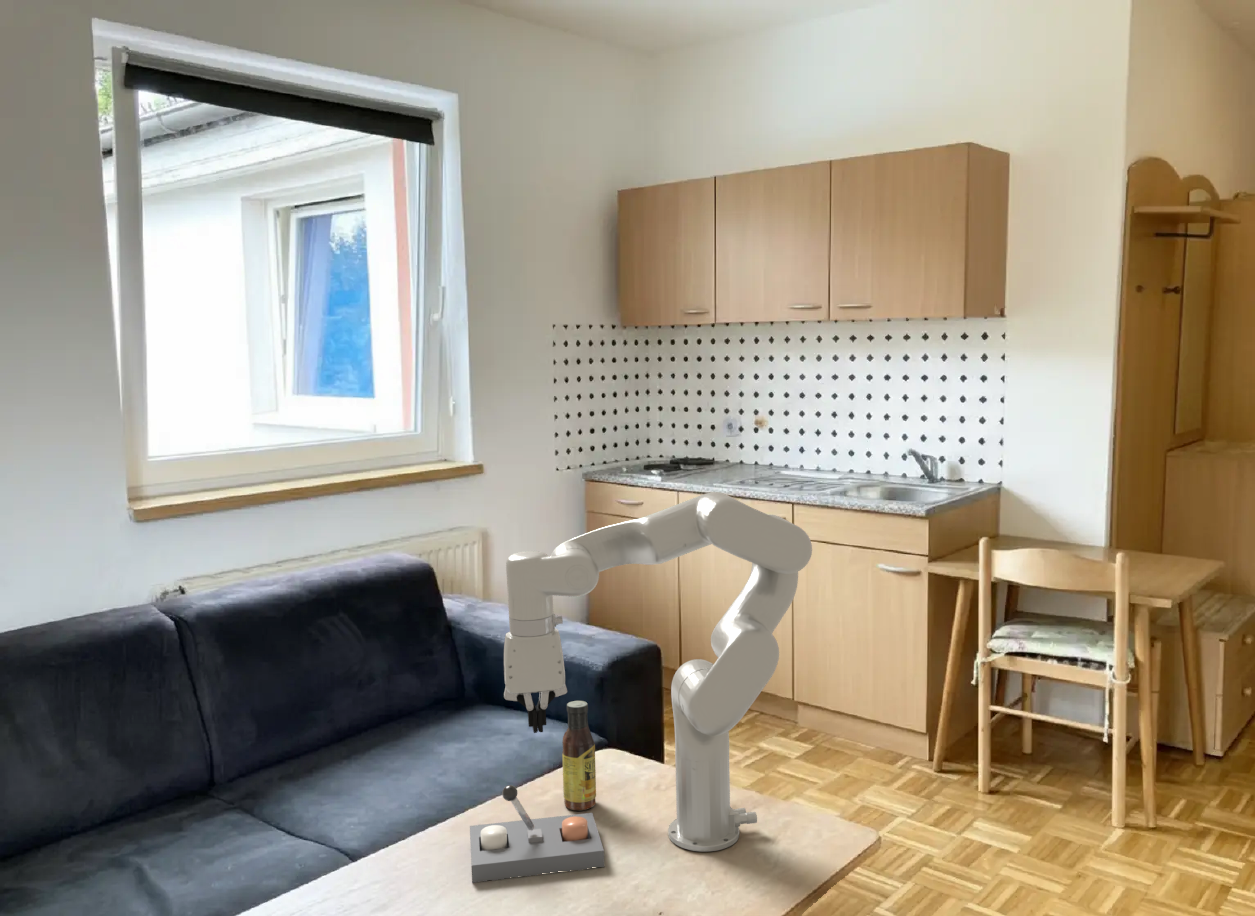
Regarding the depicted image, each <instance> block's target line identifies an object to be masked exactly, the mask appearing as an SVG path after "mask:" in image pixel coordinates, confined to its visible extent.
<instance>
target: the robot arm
mask: <svg viewBox="0 0 1255 916" xmlns="http://www.w3.org/2000/svg"><path fill="white" fill-rule="evenodd" d="M710 545H713V546H714V547H716V548H718V549H719V550H722V551H724V552H727V553H728V554H731V555H733V556H735V557H738V558H740V559H743V560H744V561H747V562H750V563H751V571H750V574H749V576H748V579H747V580H746V583H744V586H743V587H742V589H741V591H740V593H739V594H738V595H737V596H736V598H735V599H734V601H733V602H732V604H730V606H729V607H728V609H727V610H726V612H724V614H723V616H721V618H720V619H719V621H718V622H717V623H716V625H715V627H714V629H713V631H712V632H711V635H710V644H711V648H712V650H713V653H714V654H715V656H716V657H717V659H716V661H715V662H714V663H713V662H710V661H708V660H706V659H701V658H699V659H697V658H695V659H691V660H688V661H686V662H684V663H683V664H681V665H680V666H679V667H678V668H677V670H676V671H675V674H673V677H672V680H671V688H670V689H671V691H670V694H671V695H670V696H671V705H672V712H673V714H672V716H673V724H674V725H673V726H674V743H675V745H674V746H675V747H674V749H675V751H674V756H675V758H674V759H675V794H676V796H675V799H676V800H675V801H676V819H674V820H673V821H671V823H670V824H669V825H668V829H667V831H668V833H667V834H668V838H669V839H670V841H671V842H672V843H673V844H675V845H676V846H677V847H680V848H681V849H685V850H688V851H692V852H701V853H702V852H705V853H707V852H716V851H721V850H725V849H727V848H729V847H731V846H733V845H734V844H735V843H737V841H738V840H739V838H740V827H741V825H745V824H747V825H751V824H757V823H758V815H757V812H756V811H749V812H747V810H746V809H747V808H746V807H739V808H733V807H731V790H730V789H731V784H730V783H731V782H730V781H731V779H730V772H731V771H730V734H729V733H730V731H731V730H732V729H733V728H734V727H735V726H736V725H737V724H738V723H739V722H740V721H741V720H742V719H743V717H744V716H745V715H746V713H747V712H748V711H749V709H750V708H751V706H752V705H753V704H754V703H755V701H756V700H757V698H758V697H759V695H760V694H761V692H762V691H763V690H764V688H765V687H766V685H767V684H768V683H769V681H770V680H771V679H772V677H773V675H774V673H775V672H776V669H777V666H778V664H779V663H778V662H779V659H780V648H779V644H778V642H777V641H778V640H776V638H775V636H774V635H773V633H774V631H775V630H776V629H777V627H778V625H779V624H780V622H781V621H782V619H783V618H784V616H785V614H786V613H787V612H788V610H789V608H790V606H791V604H792V602H793V601H794V598H795V595H796V592H797V588H798V584H799V583H798V582H799V572H800V571H802V569H805V567H806V566H807V565H808V564H809V562H810V560H811V557H812V555H813V554H812V553H813V545H812V541H811V538H810V536H809V535H808V533H807V532H806V531H805V530H804V529H802V527H800V526H798V525H797V524H795V523H793V522H790V521H789V520H787V519H786V518H783V517H781V516H780V515H775V514H767V513H765V512H762V511H760V510H758V509H757V508H756V509H755V508H753V507H752V506H749V505H748V504H745V503H743V502H742V501H739V500H737V499H736V498H734V497H732V496H730V495H728V494H726V493H724V492H720V491H711V492H707V493H704V494H700V495H698V496H696V497H693V498H690V499H687V500H685V501H682V502H679V503H678V504H675V505H672V506H670V507H667V508H665V509H662V510H659V511H656V512H654V513H650V514H648V515H646V516H645V515H644V516H643V517H639V518H635V519H631V520H627V521H623V522H620V523H616V524H610V525H607V526H604V527H600V528H597V529H594V530H592V531H589V532H586V533H584V534H581V535H578V536H576V537H573V538H570V539H568V540H566V541H564V542H561V543H560V544H559V545H558V546H556V547H555V548H554V549H553V550H552V552H551V554H550V556H549V555H548V554H547V553H546V552H543V551H537V550H536V551H535V550H528V551H519V552H515V553H512V554H510V556H509V557H507V559H506V562H505V571H506V573H505V574H506V585H507V587H506V589H507V602H508V604H507V605H508V606H507V607H508V622H509V631H508V632H506V633H505V637H504V644H503V677H504V678H503V679H504V684H505V688H504V692H503V698H504V699H505V701H513V702H518V703H519V704H520V705H522V706H523V707H524V708H526V710H527V722H528V723H527V724H528V727H529V728H532V732H533V734H536V733H539V732H540V733H544V726H547V708H548V706H549V705H550V703H552V701H553V700H554V699H555V698H558V697H559V696H564V695H566V694H567V693H568V688H567V685H566V671H565V669H566V668H565V662H564V653H563V646H562V641H561V640H562V639H561V635H560V632H559V631H560V630H559V629H558V628H556V627H557V626H559V625H562V624H563V621H564V620H563V616H562V615H556V614H555V613H554V599H553V597H554V596H556V597H557V596H558V597H560V596H561V597H568V598H569V597H571V598H572V597H573V598H577V597H582V596H585V595H588V594H589V593H591V592H592V591H593V590H594V589H595V588H596V586H597V584H598V582H599V579H600V572H603V571H605V570H609V569H611V568H615V567H619V566H625V565H632V564H633V565H634V564H636V565H637V564H638V565H646V566H647V565H661V564H664V563H666V562H670V561H671V560H674V559H676V558H679V557H681V556H685V555H687V554H689V553H692V552H694V551H697V550H699V549H700V550H701V549H702V548H705V547H707V546H710ZM535 693H539V697H538V701H537V704H535V702H534V701H533V697H532V695H531V694H535Z"/></svg>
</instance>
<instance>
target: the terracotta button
mask: <svg viewBox="0 0 1255 916" xmlns="http://www.w3.org/2000/svg"><path fill="white" fill-rule="evenodd" d="M562 836H563V842H566V841H575V840H584V839H588V826H587V820H586V819H585V818H583V817H569V818H566V819H565V820H563V822H562Z"/></svg>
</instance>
